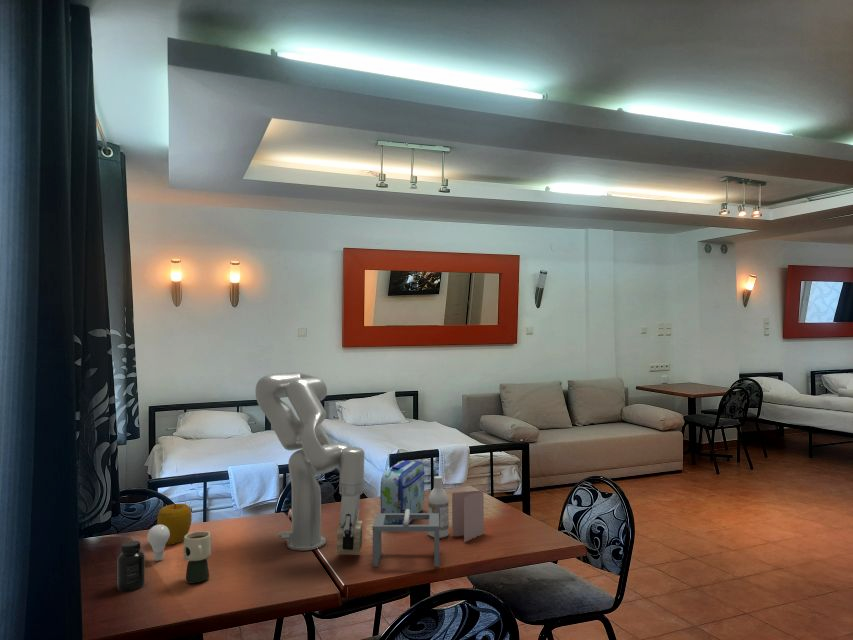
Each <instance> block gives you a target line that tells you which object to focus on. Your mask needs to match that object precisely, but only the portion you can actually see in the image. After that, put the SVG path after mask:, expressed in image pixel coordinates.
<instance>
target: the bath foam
mask: <svg viewBox="0 0 853 640" xmlns="http://www.w3.org/2000/svg"><path fill="white" fill-rule="evenodd" d="M443 481H444V480H443V476H440V475H438V476H437V475H436V476H434V478H433V489H432V490H431V491H430V494H429V496H428V502H427V503H428V506H427V507H428V512H427V513H439V539H441V538H446V537H447V536H449V530H450V529H449V528H450V526H449V525H450V522H449V520H450V518H449V514H450V513H449V509H450V508H449V504H450V503H449V496H448V494H447V492H446V491H445V488H444V487H443ZM427 520H428V521H429V519H427ZM428 536H429V537H431V538H434V531H428Z"/></svg>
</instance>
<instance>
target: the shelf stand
mask: <svg viewBox="0 0 853 640" xmlns="http://www.w3.org/2000/svg"><path fill="white" fill-rule="evenodd" d="M387 519H404V522H403V524H404V525H397V524H396V525H394V524H385V520H387ZM409 519H413V520H428V519H429V520H428V524H410V523H409ZM429 531H434V537H433V538H434V539H433V543H434V544H433V549H434V550H433V552H434V553H433V555H434V557H433V558H434V563H433V564H434V568H435V567H437V568H438V567H439V568H440V538H439V513H428V512H427V513H426V512H425V513H421V512H419V513H410V510H409V509H406V510H405V513H381V512H379V513H376V515H375V518H374V521H373V524H372V567H373V566H378V567H379V564H378V563H380V560H381V559H380V558H381V555H382V546H383V545H382V543H383V542H382V532H393V533H394V532H397V533H398V532H429ZM379 559H380V560H379Z"/></svg>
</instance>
